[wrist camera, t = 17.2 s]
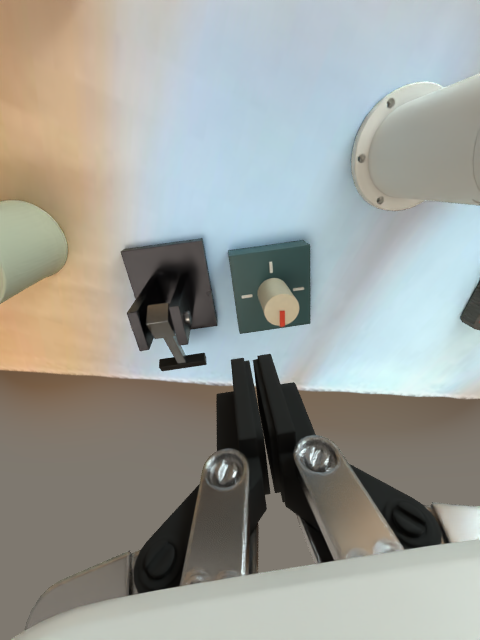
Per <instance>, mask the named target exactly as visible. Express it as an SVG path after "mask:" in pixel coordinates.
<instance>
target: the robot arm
mask: <svg viewBox="0 0 480 640" xmlns="http://www.w3.org/2000/svg"><path fill="white" fill-rule="evenodd" d="M387 103H388V107H387ZM358 156H359V157H360V160H359V161H358ZM351 170H352V177H353V181H354V184H355V187H356V189H357V191H358V193H359V194H360V195H361V197H362V198H363V199H364V200H365V201H366V202H367V203H369V204H370V205H372V206H374V207H376V208H378V209H382V210H388V211H399V210H405V209H408V208H411V207H414V206H416V205H418V204H420V203H422V202H424V201H425V200H427V201H437V202H448V203H458V204H468V205H479V206H480V73H479V74H477V75H474V76H472V77H469V78H467V79H464V80H462V81H459V82H457V83H454V84H452V85H449V86H447V87H442V86H441V85H439V84H436V83H432V82H415V83H411V84H407V85H405V86H403V87H401V88H398V89H396V90H395V91H393V92H391V93H390V94H388V95H386V96H385V97H384V98H383V99H382V100H381V101H379V102H378V103H377V104H376V105H375V106H374V108H373V109H372V110H371V111H370V112H369V114H368V115H367V116H366V118H365V120H364V121H363V123H362V125H361V126H360V129H359V131H358V134H357V136H356V138H355V142H354V146H353V150H352V158H351ZM377 199H378V201H377ZM253 364H254V372H255V381H256V389H257V397H258V404H257V399H256V394H255V388H254V383H253V378H252V373H251V368H250V362H249V361H244V358H239V359H232V360H231V366H232V377H233V388H234V391H233V392H226V393H220V394H217V452H215V453H213V454H212V455H211V456H210V457H209V458H208V459H207V461H206V462H205V464H204V467H203V470H202V475H201V481H200V484H199V485H198V486H197V487H196V489H195V490H194V491H193V492H192V493H191V494H190V495H189V496H188V497H187V498H186V500H185V501H184V502H183V503H182V504H181V505H180V506H179V507H178V509H176V510H175V512H174V513H173V514H172V515H171V516H170V517H169V518H168V519H167V520H166V521H165V522H164V523H163V525H162V526H161V527H160V528H159V529H158V530H157V531H156V532H155V533H154V534H153V536H152V537H151V538H150V539H149V540H148V541H147V542H146V544H145V545H144V546H143V548H142V549H141V550H139V551H137V552H135V553H132V554H131V552H130V551H128V552H126V553H123V554H121V555H119V556H116V557H114V558H111V559H109V560H107V561H104V562H102V563H100V564H97V565H95V566H93V567H90V568H88V569H86V570H84V571H81V572H79V573H77V574H74V575H72V576H69V577H67V578H65V579H63V580H60V581H59V582H57V583H55V584H54V585H52V586H51V587H49V588H48V589H47V591H45V592H44V594H43V595H41V596H40V598H39V599H38V601H37V602H36V604H35V606H34V607H33V609H32V610H31V613H30V615H29V618H28V621H27V623H26V627H25V631H24V632H22V633H20V634H18V635H17V636H16V637H14V638H13V639H11V640H480V507H478V506H467V505H456V504H445V503H433V502H432V505H431V506H428V505H422V504H421V503H420V502H418V501H416V500H415V499H413V498H412V497H410V496H408V495H406V494H404V493H402V492H400V491H398V490H396V489H394V488H393V487H391V486H389V485H387V484H386V483H384V482H382V481H380V480H378V479H376V478H374V477H372V476H371V475H369V474H367V473H365V472H363V471H361V470H359V469H358V468H356V467H354V466H352V465H350V464H349V463H348V462H347V460H346V459H345V457H344V456H343V454H342V452H341V451H340V449H339V448H338V447H337V446H336V445H335V443H334V442H332V441H331V440H329V439H328V438H325V437H322V436H316V435H315V432H314V430H313V427H312V424H311V422H310V420H309V417H308V415H307V412H306V409H305V407H304V404H303V402H302V399H301V397H300V394H299V392H298V389H297V387H296V384H295V383H294V382H293V383H286V384H280V382H279V379H278V375H277V372H276V369H275V366H274V363H273V360H272V357H271V354H266V355H260V356H258V359H256V360H253ZM258 406H259V409H258ZM259 413H260V414H259ZM260 418H261V420H260ZM261 423H262V425H261ZM262 429H263V430H262ZM263 434H264V436H263ZM264 439H265V444H266V449H267V454H268V460H269V465H270V469H271V475H272V479H273V485H274V491H275V493H279V492H281V496H282V500H283V502H285V505H286V507H287V508H289V509H290V510H292V511H293V512H294V513H296V515H297V519H298V522H299V525H300V527H301V530H302V532H303V535H304V537H305V540H306V542H307V545H308V548H309V550H310V553H311V555H312V558H313V560H314V563H315V564H313V565H306V566H300V567H295V568H288V569H282V570H276V571H269V572H264V573H258V542H259V541H258V540H259V539H258V537H259V536H258V535H259V527H258V521H259V520H260V518H261V517H262V515H263V514H264V512H265V511H266V509H267V508H266V501H265V495H266V494H270V487H269V478H268V470H267V461H266V452H265V445H264Z"/></svg>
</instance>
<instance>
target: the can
mask: <svg viewBox="0 0 480 640" xmlns="http://www.w3.org/2000/svg"><path fill="white" fill-rule="evenodd" d="M67 254H68V247H67V241H66V238H65V236H64V233H63V231H62V229H61V228H60V226H59V225H58V224H57V222H56V221H55V220H54V219H53V218H52V217H51V216H50V215H49V214H48V213H46V212H45V211H44V210H42V209H41V208H39V207H37V206H35V205H33V204H31V203H28V202H24V201H20V200H5V201H1V202H0V304H1V303H3V302H4V301H6V300H8V299H9V298H11V297H13V296H14V295H16V294H18V293H19V292H21V291H23V290H24V289H26V288H28V287H29V286H31V285H33V284H35V283H37V282H38V281H40V280H42V279H44V278H45V277H49V276H51V275H53V274H55V273H57V272H58V271H59V270H60V269H61V268H62V267H63V265H64V264H65V262H66V259H67Z"/></svg>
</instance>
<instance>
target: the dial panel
mask: <svg viewBox="0 0 480 640" xmlns="http://www.w3.org/2000/svg"><path fill="white" fill-rule="evenodd" d="M228 255H229V262H230V269H231V276H232V283H233V291H234V298H235V305H236V312H237V319H238V326H239V332H240V334H242V333H249V332H256V331H263V330H270V329H277V328H284V327H290V326H297V325H304V324H310V244H308V243H307V242H305V241H304V240H300V241H293V242H286V243H279V244H272V245H265V246H257V247H250V248H243V249H236V250H229V251H228ZM270 278H278V279H281V280H282V281H284V282H285V284H286V285H287V286H288V288H289V289H290V291H291V292H292V294H293V295H294V297H295V298H296V299H297V301H298V303H299V313H298V315H297V317H296V318H295V319H294V320H293V321H292V322H291V323H289V324H287V325H285V326H284V327H280V326H277V325H273V324H271V323H270V322H269V321H268V320H267V319H266V317H265V315H264V312H263V309H262V306H261V304H260V301H259V298H258V289H259V287H260V285H261V284H262V283H263V282H264V281H265V280H267V279H270Z"/></svg>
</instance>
